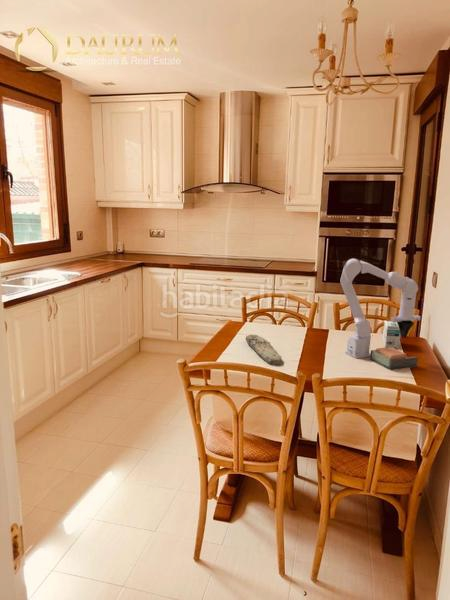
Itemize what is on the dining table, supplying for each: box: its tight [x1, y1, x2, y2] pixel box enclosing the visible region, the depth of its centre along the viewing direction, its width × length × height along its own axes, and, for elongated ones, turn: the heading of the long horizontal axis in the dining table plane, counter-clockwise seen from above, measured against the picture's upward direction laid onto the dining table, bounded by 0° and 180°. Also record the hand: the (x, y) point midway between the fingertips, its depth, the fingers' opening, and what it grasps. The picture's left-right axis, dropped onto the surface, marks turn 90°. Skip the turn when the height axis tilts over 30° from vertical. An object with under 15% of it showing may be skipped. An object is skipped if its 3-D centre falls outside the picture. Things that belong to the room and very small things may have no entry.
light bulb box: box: [382, 320, 402, 349], centre depth 211 cm, size 11×7×11 cm, turn 168°
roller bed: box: [369, 348, 419, 371], centre depth 186 cm, size 14×13×5 cm
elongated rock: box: [245, 334, 283, 366], centre depth 196 cm, size 35×5×10 cm
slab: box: [375, 347, 407, 360], centre depth 185 cm, size 8×9×2 cm
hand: (403, 336), depth 190 cm, fingers closed
